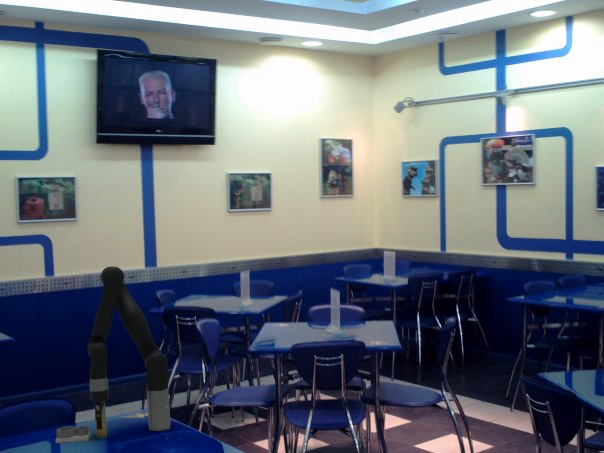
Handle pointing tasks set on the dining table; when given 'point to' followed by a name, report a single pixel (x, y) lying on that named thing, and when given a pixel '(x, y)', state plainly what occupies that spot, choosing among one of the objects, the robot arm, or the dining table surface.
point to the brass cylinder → (103, 431)
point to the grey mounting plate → (72, 434)
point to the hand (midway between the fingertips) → (100, 426)
